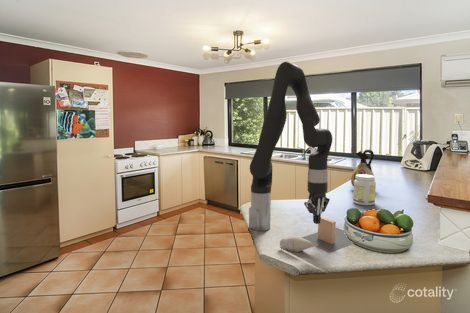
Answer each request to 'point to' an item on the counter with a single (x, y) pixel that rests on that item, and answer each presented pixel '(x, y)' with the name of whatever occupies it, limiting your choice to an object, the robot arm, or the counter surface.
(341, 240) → the mat
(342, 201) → the counter surface
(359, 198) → the supplement tub
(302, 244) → the ice cream cone
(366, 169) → the ceramic jug
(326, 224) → the tile
